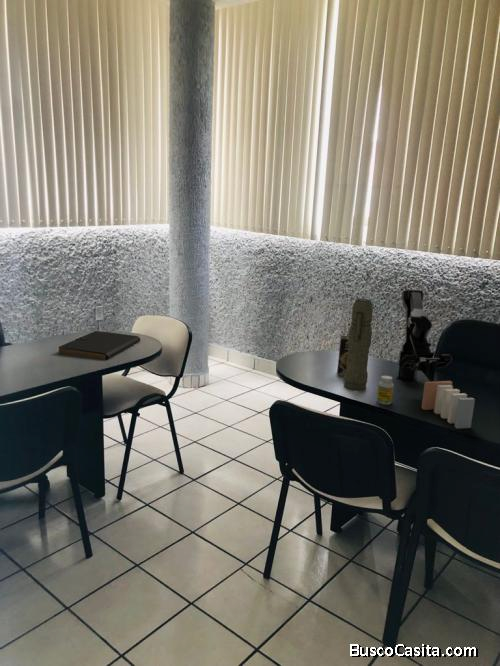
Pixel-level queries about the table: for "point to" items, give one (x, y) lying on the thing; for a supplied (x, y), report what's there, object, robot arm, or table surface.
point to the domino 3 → (447, 401)
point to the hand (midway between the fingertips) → (432, 381)
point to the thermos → (359, 345)
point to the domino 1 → (431, 393)
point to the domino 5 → (464, 412)
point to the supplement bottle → (385, 390)
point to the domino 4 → (454, 406)
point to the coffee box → (343, 356)
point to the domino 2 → (440, 397)
